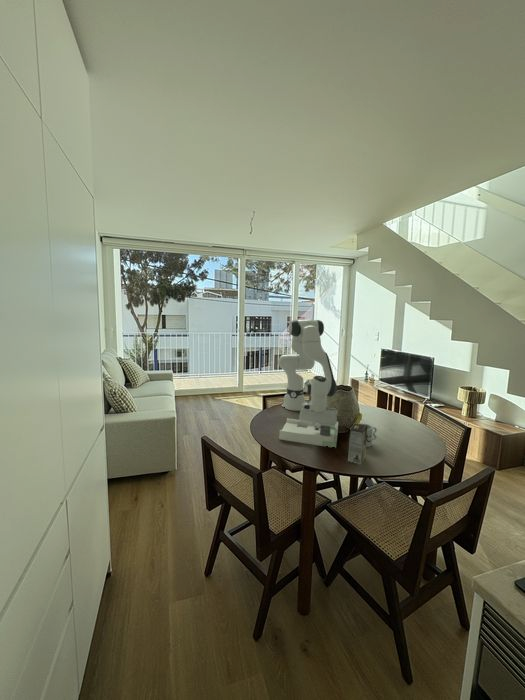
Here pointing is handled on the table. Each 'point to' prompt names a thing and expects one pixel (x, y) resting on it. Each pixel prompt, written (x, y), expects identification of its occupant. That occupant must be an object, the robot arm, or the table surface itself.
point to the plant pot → (358, 419)
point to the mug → (369, 434)
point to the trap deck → (308, 433)
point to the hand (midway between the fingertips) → (317, 430)
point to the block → (325, 430)
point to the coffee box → (357, 443)
